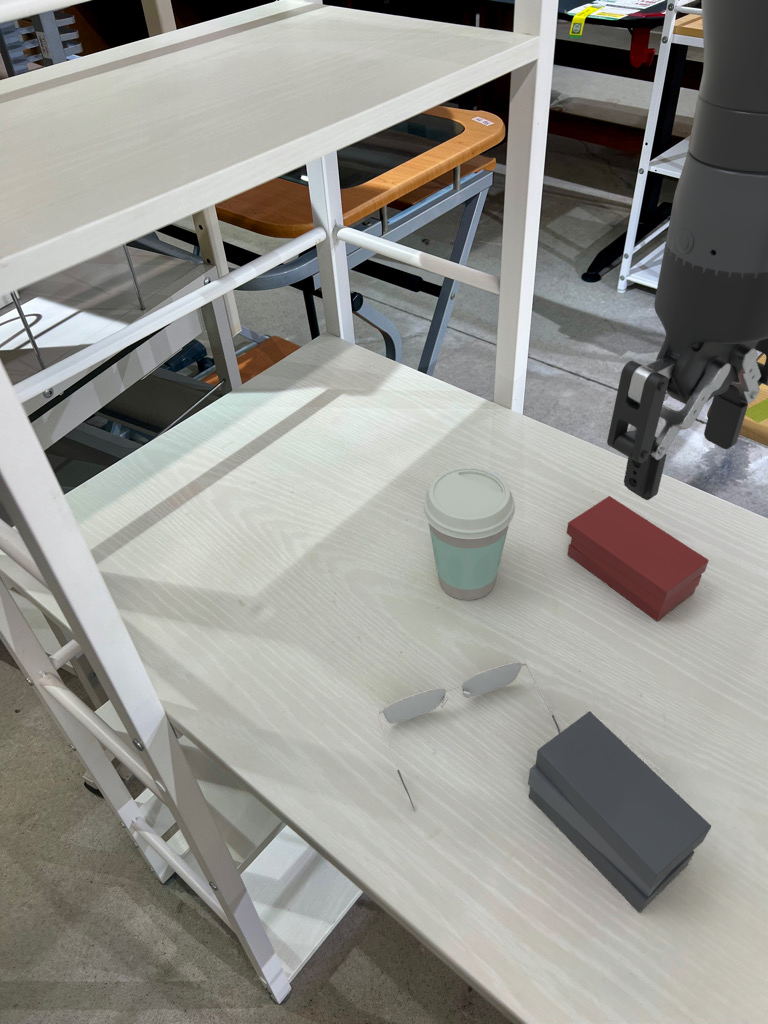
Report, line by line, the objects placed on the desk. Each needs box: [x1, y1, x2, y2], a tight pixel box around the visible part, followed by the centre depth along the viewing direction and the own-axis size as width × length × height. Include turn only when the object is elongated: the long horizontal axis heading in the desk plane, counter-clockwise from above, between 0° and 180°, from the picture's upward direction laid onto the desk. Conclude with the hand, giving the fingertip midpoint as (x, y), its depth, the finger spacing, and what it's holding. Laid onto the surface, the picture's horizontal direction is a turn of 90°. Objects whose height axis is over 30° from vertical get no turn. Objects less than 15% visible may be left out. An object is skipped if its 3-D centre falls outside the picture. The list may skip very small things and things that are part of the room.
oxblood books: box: [567, 537, 703, 622], centre depth 75 cm, size 12×6×3 cm, turn 37°
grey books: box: [527, 711, 712, 914], centre depth 55 cm, size 12×6×7 cm, turn 37°
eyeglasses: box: [376, 661, 561, 812], centre depth 62 cm, size 14×8×4 cm, turn 109°
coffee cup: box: [422, 465, 516, 601], centre depth 72 cm, size 8×8×12 cm
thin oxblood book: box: [566, 495, 710, 603], centre depth 73 cm, size 12×6×2 cm, turn 37°
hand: (680, 466), depth 52 cm, fingers open, 8 cm apart
